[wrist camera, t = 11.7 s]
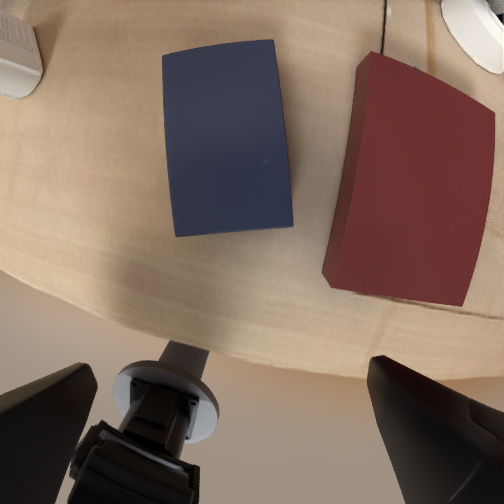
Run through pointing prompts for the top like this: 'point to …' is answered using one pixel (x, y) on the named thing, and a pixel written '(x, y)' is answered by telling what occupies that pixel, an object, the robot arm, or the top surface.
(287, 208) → the navy book
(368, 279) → the burgundy book
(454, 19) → the inkwell
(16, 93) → the photo printer
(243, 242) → the top surface
